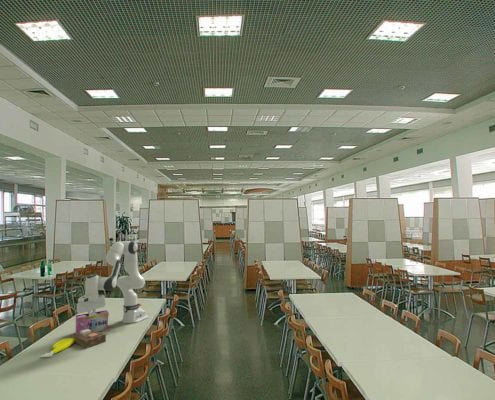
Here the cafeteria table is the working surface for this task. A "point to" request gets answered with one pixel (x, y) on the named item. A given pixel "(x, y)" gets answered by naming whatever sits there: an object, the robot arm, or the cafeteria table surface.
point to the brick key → (92, 335)
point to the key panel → (89, 339)
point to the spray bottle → (60, 346)
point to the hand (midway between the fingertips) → (91, 316)
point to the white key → (85, 332)
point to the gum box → (92, 321)
